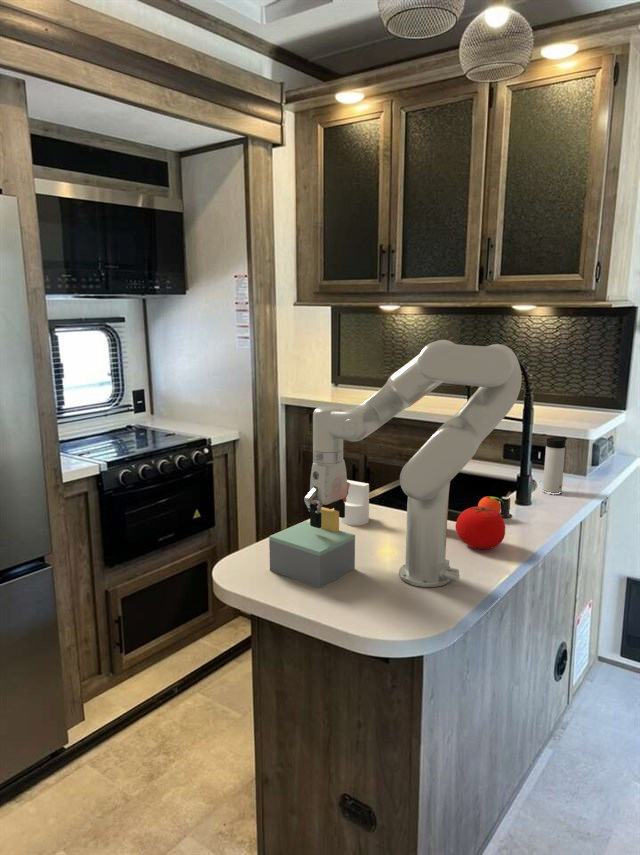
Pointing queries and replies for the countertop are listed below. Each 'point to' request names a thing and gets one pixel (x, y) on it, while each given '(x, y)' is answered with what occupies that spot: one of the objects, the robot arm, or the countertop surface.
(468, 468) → the countertop surface
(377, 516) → the countertop surface
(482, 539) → the tomato
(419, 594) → the countertop surface
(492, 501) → the clementine
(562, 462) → the travel mug
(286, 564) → the tub
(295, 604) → the countertop surface
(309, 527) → the door
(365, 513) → the cylinder with rectangular tab
